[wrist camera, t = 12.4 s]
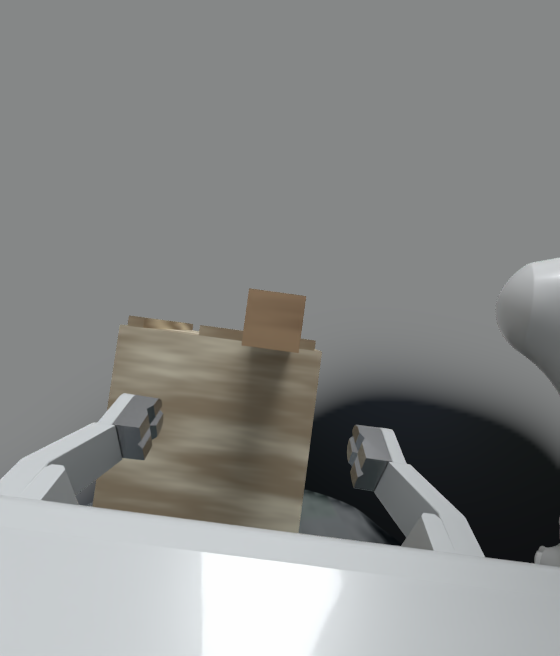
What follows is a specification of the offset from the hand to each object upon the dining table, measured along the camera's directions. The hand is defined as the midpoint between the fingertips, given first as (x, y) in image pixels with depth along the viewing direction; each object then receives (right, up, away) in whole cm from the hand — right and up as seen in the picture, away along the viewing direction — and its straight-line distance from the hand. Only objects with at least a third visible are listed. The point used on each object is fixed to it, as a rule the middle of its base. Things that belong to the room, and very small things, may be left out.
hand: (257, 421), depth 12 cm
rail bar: (0, +2, +17) cm, 18 cm away
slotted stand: (-8, -23, +23) cm, 33 cm away
